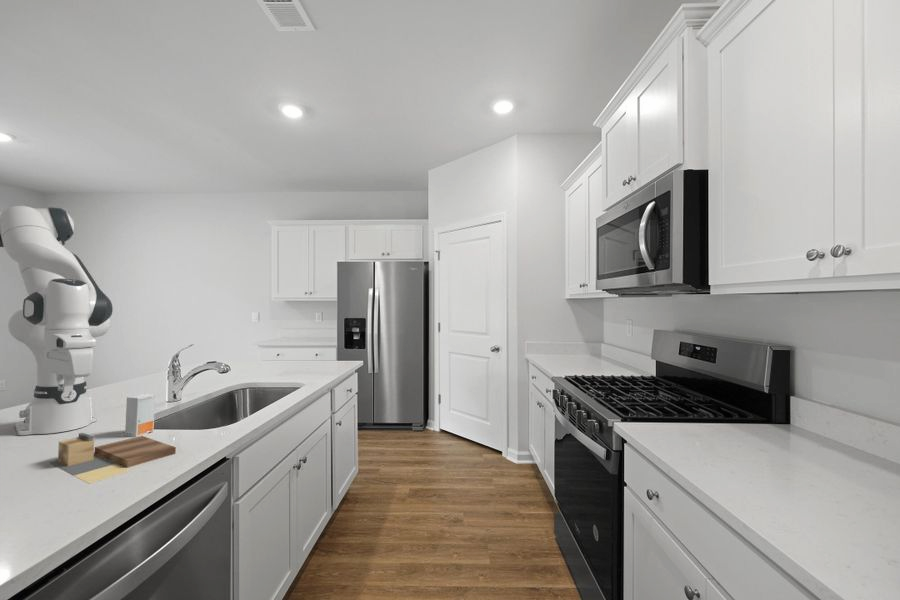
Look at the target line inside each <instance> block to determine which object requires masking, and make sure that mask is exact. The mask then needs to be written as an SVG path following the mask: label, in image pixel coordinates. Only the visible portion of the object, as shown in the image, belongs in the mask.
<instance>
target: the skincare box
mask: <svg viewBox="0 0 900 600" xmlns="http://www.w3.org/2000/svg"><path fill="white" fill-rule="evenodd" d="M155 406H156V394H154V393H153V394H152V393H141V394H136V395H134V396H127V397H126V409H125V429H124V433H125V434H124V437H131V438H135V437H139V436H143V435H147V433H148V432H147V431H153V432H154V427H155ZM148 434H149V433H148Z"/></svg>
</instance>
